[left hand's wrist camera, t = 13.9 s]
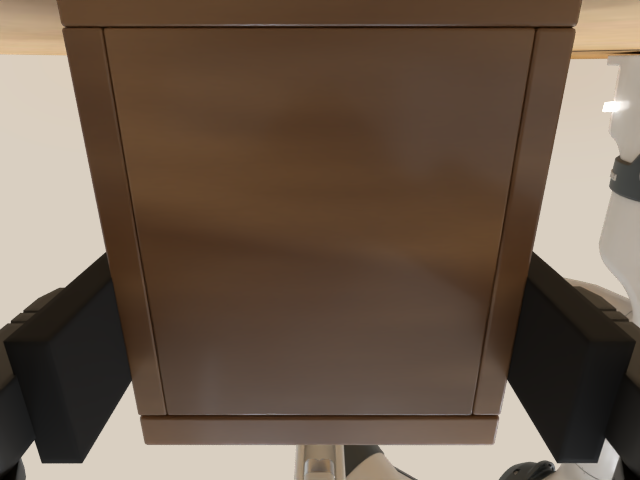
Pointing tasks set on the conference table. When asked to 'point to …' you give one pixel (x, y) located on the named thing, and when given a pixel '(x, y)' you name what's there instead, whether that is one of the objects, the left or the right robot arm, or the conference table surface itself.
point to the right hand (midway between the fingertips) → (319, 409)
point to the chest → (319, 194)
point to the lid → (319, 429)
